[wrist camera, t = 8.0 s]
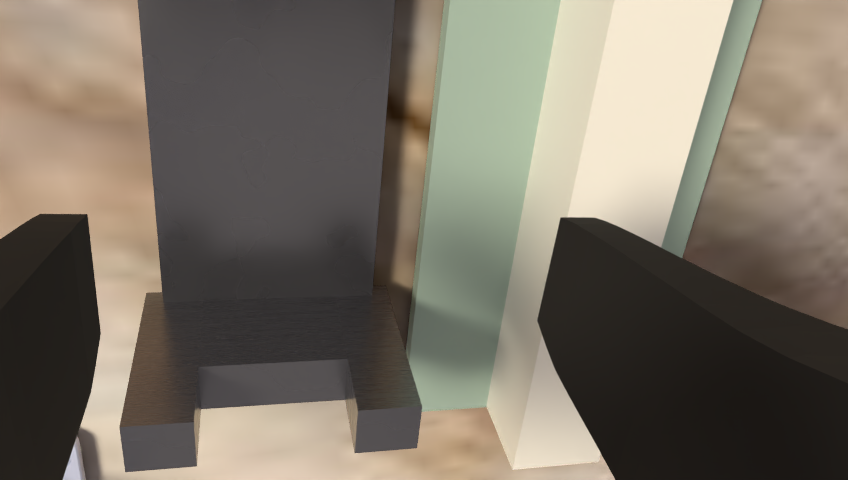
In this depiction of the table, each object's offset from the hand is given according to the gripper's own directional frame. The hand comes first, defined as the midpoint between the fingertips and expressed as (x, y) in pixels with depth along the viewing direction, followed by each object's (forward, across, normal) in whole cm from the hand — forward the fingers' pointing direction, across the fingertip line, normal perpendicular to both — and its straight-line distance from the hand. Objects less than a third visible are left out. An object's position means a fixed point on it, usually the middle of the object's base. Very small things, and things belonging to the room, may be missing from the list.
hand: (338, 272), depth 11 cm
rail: (+9, -8, +1) cm, 12 cm away
